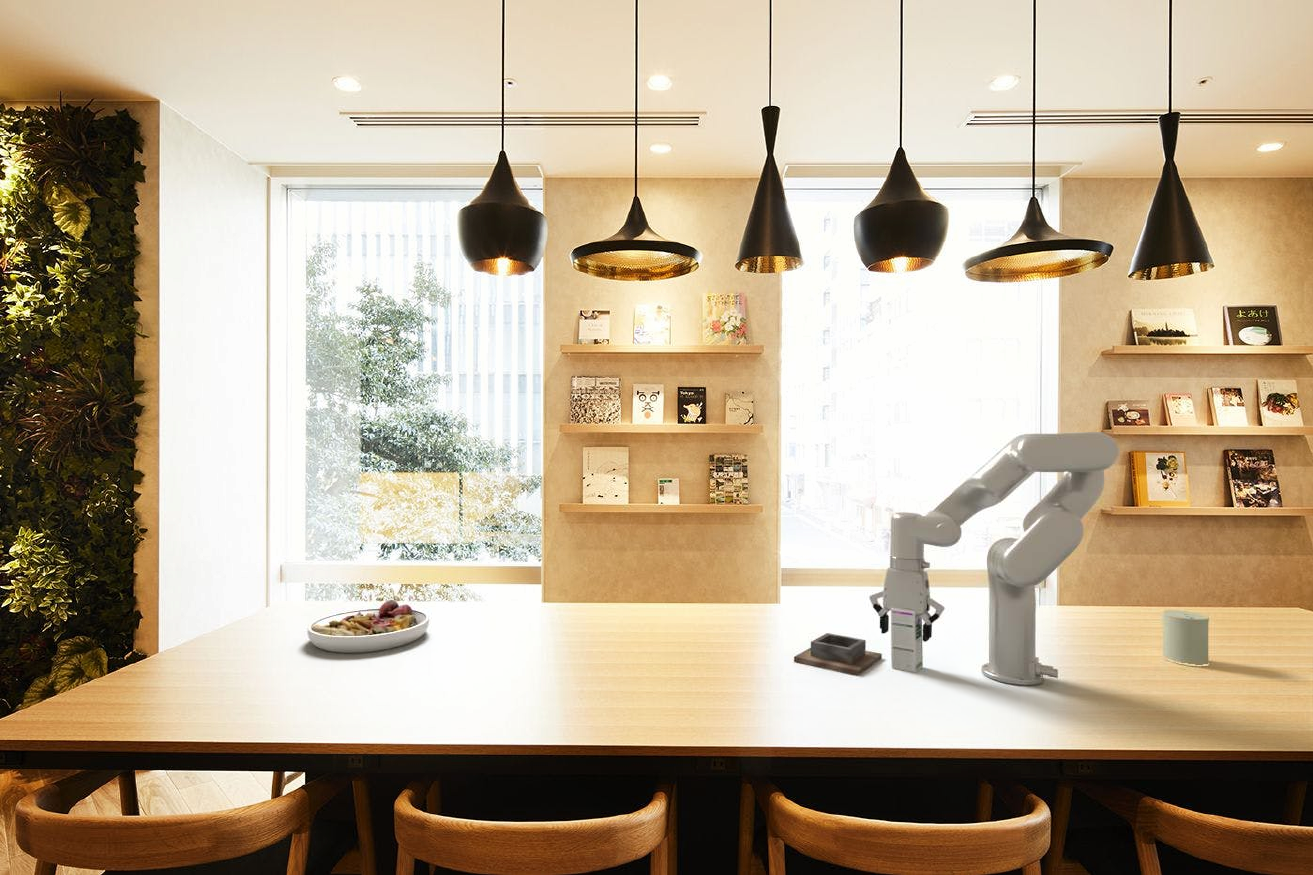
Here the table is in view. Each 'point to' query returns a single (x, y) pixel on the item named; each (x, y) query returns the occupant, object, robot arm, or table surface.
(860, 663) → the holder
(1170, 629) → the can
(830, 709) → the table surface
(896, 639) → the syrup box
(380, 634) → the bowl
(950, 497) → the robot arm
